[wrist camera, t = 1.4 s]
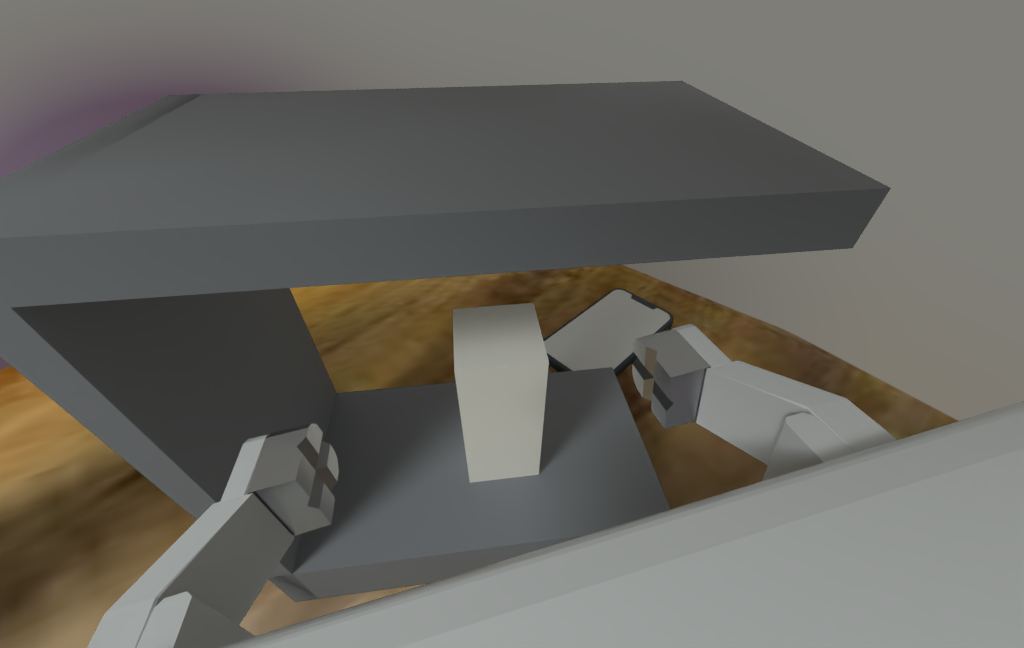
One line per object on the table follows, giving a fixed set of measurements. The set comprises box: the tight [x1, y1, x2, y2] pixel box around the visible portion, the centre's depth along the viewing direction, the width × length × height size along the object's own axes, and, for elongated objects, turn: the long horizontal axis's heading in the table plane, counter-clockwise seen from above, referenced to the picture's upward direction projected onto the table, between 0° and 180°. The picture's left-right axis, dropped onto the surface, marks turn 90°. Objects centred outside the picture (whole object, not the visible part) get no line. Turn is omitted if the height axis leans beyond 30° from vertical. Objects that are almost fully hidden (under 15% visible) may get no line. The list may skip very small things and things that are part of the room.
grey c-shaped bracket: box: [0, 81, 890, 602], centre depth 25 cm, size 26×14×28 cm, turn 97°
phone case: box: [543, 288, 673, 376], centre depth 48 cm, size 9×2×16 cm
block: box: [453, 303, 549, 483], centre depth 27 cm, size 5×5×12 cm
